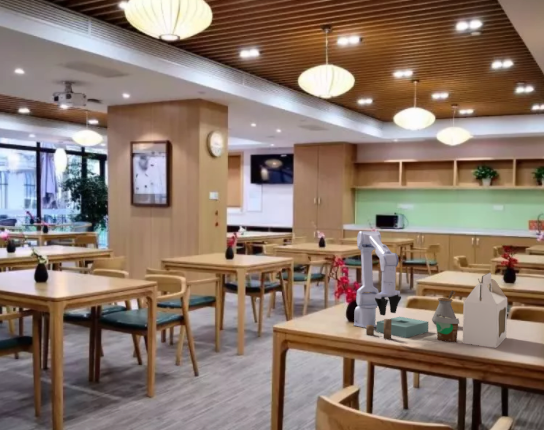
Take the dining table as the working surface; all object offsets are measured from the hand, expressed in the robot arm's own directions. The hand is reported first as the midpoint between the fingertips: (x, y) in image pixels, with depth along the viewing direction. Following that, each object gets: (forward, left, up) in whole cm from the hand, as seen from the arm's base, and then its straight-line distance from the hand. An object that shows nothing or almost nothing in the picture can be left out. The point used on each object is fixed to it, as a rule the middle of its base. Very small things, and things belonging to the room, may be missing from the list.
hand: (387, 313), depth 242 cm
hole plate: (-3, +16, -10) cm, 19 cm away
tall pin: (0, 0, -10) cm, 10 cm away
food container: (+17, +16, -11) cm, 26 cm away
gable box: (+29, +29, -11) cm, 42 cm away
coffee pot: (+2, +46, -11) cm, 47 cm away
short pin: (-9, 0, -10) cm, 14 cm away
